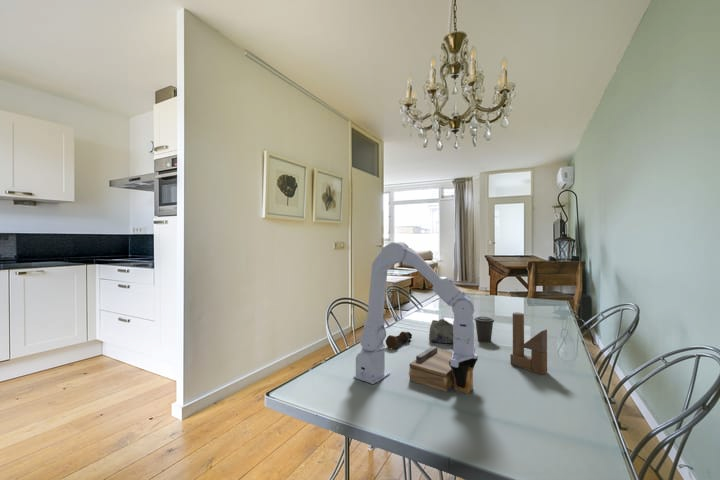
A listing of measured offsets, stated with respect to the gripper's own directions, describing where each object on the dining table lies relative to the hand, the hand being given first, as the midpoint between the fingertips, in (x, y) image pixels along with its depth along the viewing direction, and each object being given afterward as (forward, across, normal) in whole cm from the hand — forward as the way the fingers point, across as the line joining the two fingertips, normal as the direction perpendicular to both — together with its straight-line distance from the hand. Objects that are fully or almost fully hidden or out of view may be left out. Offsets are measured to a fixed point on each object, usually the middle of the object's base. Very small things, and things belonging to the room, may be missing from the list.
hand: (463, 383), depth 91 cm
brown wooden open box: (+1, +4, +9) cm, 10 cm away
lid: (-1, +4, +9) cm, 10 cm away
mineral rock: (+2, +36, +21) cm, 42 cm away
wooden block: (+2, +28, -12) cm, 30 cm away
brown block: (+1, 0, 0) cm, 1 cm away
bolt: (+2, +23, +35) cm, 42 cm away
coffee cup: (+2, +49, +9) cm, 50 cm away
